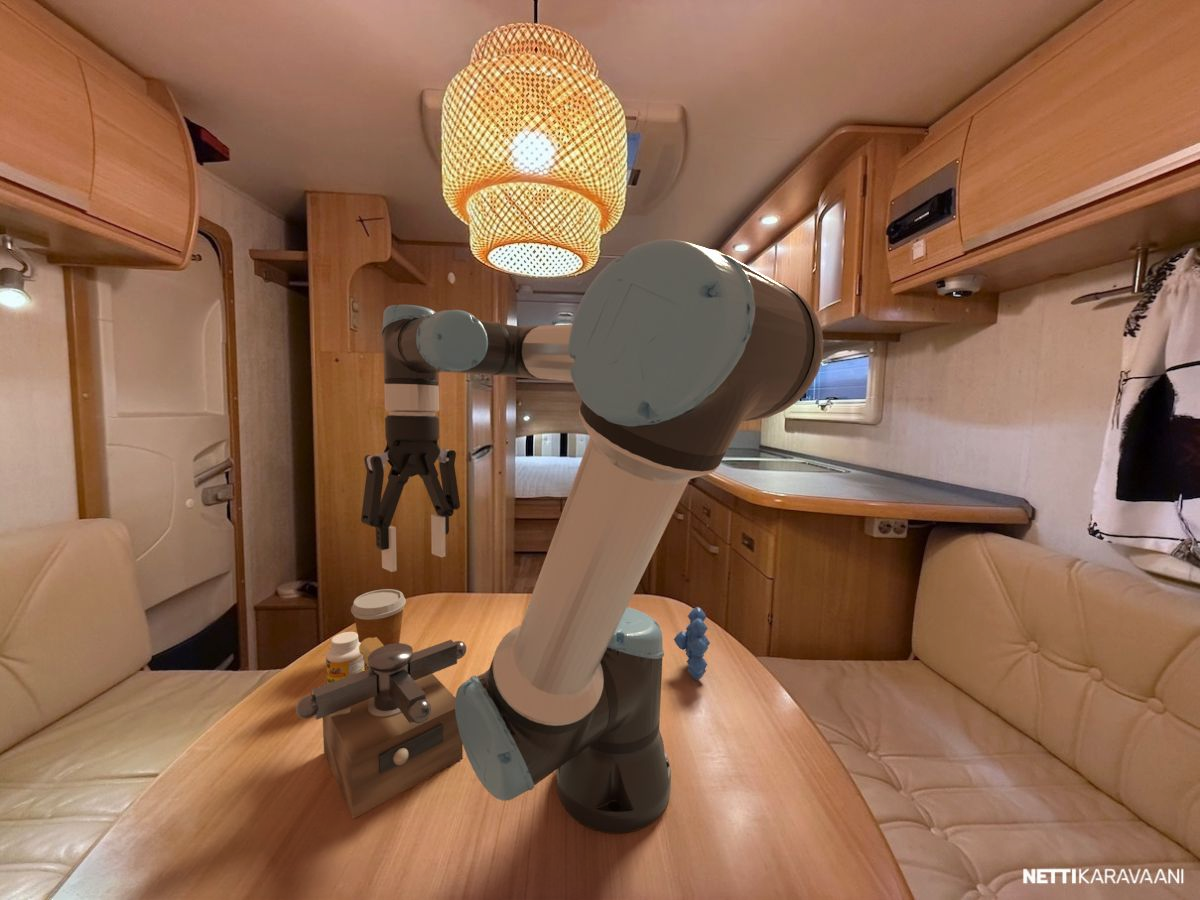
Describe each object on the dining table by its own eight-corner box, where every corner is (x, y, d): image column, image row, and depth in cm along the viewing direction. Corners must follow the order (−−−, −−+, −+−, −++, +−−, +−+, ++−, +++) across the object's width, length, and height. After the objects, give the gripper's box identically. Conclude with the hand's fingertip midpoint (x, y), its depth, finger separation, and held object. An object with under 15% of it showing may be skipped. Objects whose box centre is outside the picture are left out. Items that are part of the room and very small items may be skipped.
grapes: (672, 652, 92) (674, 595, 91) (705, 655, 91) (708, 598, 90) (672, 687, 81) (675, 623, 80) (711, 691, 80) (714, 626, 79)
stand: (467, 764, 62) (467, 708, 62) (355, 829, 53) (353, 763, 52) (421, 707, 74) (420, 659, 73) (322, 752, 64) (319, 697, 63)
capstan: (503, 704, 63) (503, 658, 62) (319, 797, 47) (317, 737, 47) (435, 641, 79) (434, 604, 78) (281, 696, 63) (278, 649, 63)
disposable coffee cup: (392, 672, 83) (391, 610, 82) (341, 670, 83) (339, 608, 82) (415, 645, 93) (414, 588, 91) (369, 643, 93) (367, 587, 92)
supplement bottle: (320, 697, 76) (318, 639, 75) (352, 680, 80) (350, 625, 79) (340, 709, 73) (337, 649, 72) (372, 691, 78) (370, 634, 77)
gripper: (455, 413, 78) (456, 541, 80) (327, 413, 62) (333, 575, 64) (483, 414, 74) (483, 550, 76) (354, 415, 57) (359, 588, 60)
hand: (415, 561), depth 70 cm, fingers open, 8 cm apart
